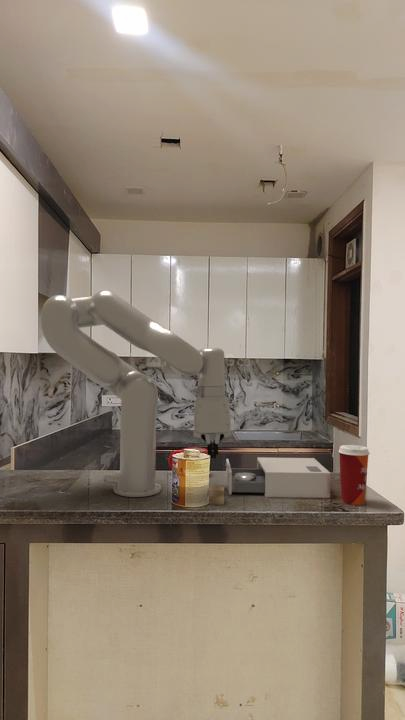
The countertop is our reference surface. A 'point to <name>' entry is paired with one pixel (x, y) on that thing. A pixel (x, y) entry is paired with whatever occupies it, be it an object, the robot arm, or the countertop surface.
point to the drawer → (244, 486)
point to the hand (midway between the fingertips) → (212, 457)
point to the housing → (295, 477)
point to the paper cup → (353, 473)
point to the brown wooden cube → (216, 495)
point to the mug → (183, 450)
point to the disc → (245, 477)
